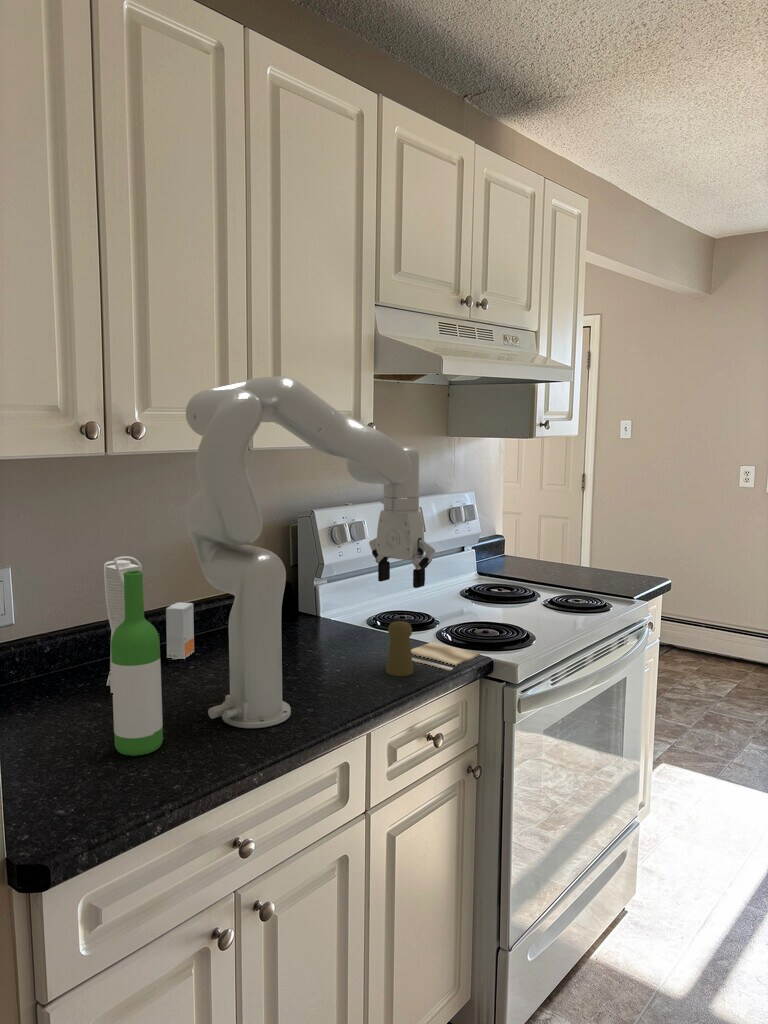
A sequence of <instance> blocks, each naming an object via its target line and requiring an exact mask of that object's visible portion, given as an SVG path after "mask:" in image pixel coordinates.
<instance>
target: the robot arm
mask: <svg viewBox="0 0 768 1024" xmlns="http://www.w3.org/2000/svg"><path fill="white" fill-rule="evenodd" d="M185 419H186V422H187V424H188V426H189V428H191V430H192V431H193V432H195V434H197V435H199V436H201V437H202V438H201V440H200V443H199V445H198V448H197V453H196V457H195V458H196V459H195V468H196V474H197V478H198V481H199V485H200V488H201V489H200V490H201V491H199V492H197V493H196V494H194V496H193V497H192V498H191V499H190V501H189V503H188V506H187V508H186V517H185V519H186V520H185V521H186V526H187V532H188V534H189V537H190V540H191V542H192V545H193V548H194V552H195V554H196V556H197V560H198V563H199V565H200V569H201V570H202V573H203V576H204V578H205V579H206V581H207V582H208V583H209V584H210V586H211V587H213V588H214V589H216V590H218V591H221V592H223V593H227V594H230V595H233V596H234V600H233V604H232V607H231V609H230V612H229V616H228V654H229V655H228V657H229V658H228V660H229V694H227V695H224V697H225V700H224V701H223V702H222V703H221V704H220V705H215V706H213V707H210V708H208V711H207V713H208V716H209V718H210V719H212V720H213V719H216V718H218V717H221V718H222V721H223V722H224V723H225V724H227V725H229V726H232V727H236V728H243V729H261V728H268V727H272V726H275V725H279V724H281V723H283V722H286V720H288V719H289V718H290V716H291V714H292V713H291V712H292V710H291V706H290V704H289V703H287V702H286V701H284V700H283V665H282V664H283V661H282V659H283V656H282V654H283V653H282V652H283V651H282V645H283V644H282V643H283V642H282V640H283V639H282V610H283V609H282V607H283V601H284V600H283V599H284V593H285V587H286V582H287V580H286V579H287V573H286V571H287V570H286V567H285V565H284V562H283V561H282V559H281V558H280V557H279V556H278V555H277V554H276V553H274V552H273V551H271V550H269V549H266V548H263V547H260V546H254V545H250V544H251V543H253V542H255V541H256V540H257V539H258V538H260V536H261V533H262V529H263V518H262V513H261V510H260V507H259V504H258V500H257V497H256V493H255V491H254V487H253V484H252V481H251V477H250V475H249V470H248V466H247V453H248V449H249V446H250V443H251V441H252V439H253V437H254V436H255V434H256V433H257V431H258V429H259V427H260V425H261V423H275V424H277V425H278V426H281V427H282V428H283V429H285V430H287V431H288V432H290V433H291V434H293V435H294V436H295V437H297V438H298V439H299V440H302V441H303V442H304V443H305V444H308V445H309V446H310V447H311V448H313V449H314V450H316V451H319V452H321V453H324V454H327V455H330V456H334V457H339V458H344V459H347V462H346V469H347V472H348V474H349V475H350V476H351V478H352V479H354V480H356V481H358V482H360V483H365V484H374V485H375V484H376V485H377V484H380V485H383V497H382V498H381V499H380V503H381V505H383V509H382V510H380V513H379V516H378V521H377V522H378V523H377V528H376V529H377V530H376V532H377V533H376V537H375V538H373V539H372V540H370V541H369V542H368V544H369V546H370V549H371V554H372V555H373V557H374V558H375V562H376V564H377V565H378V566H377V580H378V582H385V581H388V580H390V578H391V572H390V571H391V569H390V568H391V563H390V561H388V560H389V559H396V560H401V561H410V562H411V563H412V565H413V566H414V569H413V572H412V587H413V588H414V589H418V588H422V587H424V586H425V584H426V583H425V582H426V568H428V566H429V565H430V564H431V562H432V561H433V557H434V555H435V553H436V549H434V548H433V546H431V545H430V544H429V543H427V542H426V541H425V532H424V531H425V530H424V523H423V516H422V512H421V511H420V502H419V501H420V453H419V450H418V448H416V447H414V446H401V445H400V444H399V443H397V442H396V441H394V440H393V439H392V438H391V437H389V436H388V435H386V434H385V433H383V432H381V431H380V430H377V429H376V428H374V427H372V426H369V425H367V424H365V423H363V422H361V421H359V420H357V419H355V418H352V417H350V416H349V415H348V416H347V415H345V414H343V413H341V412H340V411H339V410H337V409H335V408H334V407H333V406H331V404H329V403H328V402H326V401H325V400H324V399H322V398H321V397H320V396H318V395H317V394H316V393H314V392H313V391H312V390H310V389H309V388H308V387H306V386H305V385H304V384H302V383H301V382H300V381H298V380H297V379H295V378H293V377H289V376H285V375H278V376H265V377H264V376H263V377H262V376H261V377H255V378H251V379H247V380H243V381H239V382H236V383H230V384H226V385H221V386H217V387H213V388H207V389H204V390H201V391H198V392H197V393H194V395H193V396H192V397H191V398H190V399H189V401H188V402H187V405H186V408H185ZM424 554H425V555H424Z"/></svg>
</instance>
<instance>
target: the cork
mask: <svg viewBox="0 0 768 1024" xmlns="http://www.w3.org/2000/svg"><path fill="white" fill-rule="evenodd" d="M387 633H388V636H389V639H390V640H389V647H388V655H387V660H386V668H385V672H386V674H387V675H389V676H390V675H391V676H394V677H406V676H410V675H412V674H414V665H413V663H414V662H413V661H412V657H413V655H411V649H412V648H411V639H410V637H411V636H412V633H413V627H412V625H411V624H410V623H409V622H407V621H404V620H403V621H402V620H396V621H393V622H391V623H389V625H388V627H387Z"/></svg>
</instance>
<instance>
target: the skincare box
mask: <svg viewBox="0 0 768 1024" xmlns="http://www.w3.org/2000/svg"><path fill="white" fill-rule="evenodd" d="M194 617H195V615H194V603H192V602H180V601H179V602H175V603H173V604H171V605H170V606H168V607H166V608H165V622H166V623H165V625H166V628H165V629H166V631H165V633H166V659H167V658H172V659H171V660H177V659H184V660H185V659H186V657H187V658H188V657H189V656H191V655H192V653H193V652H194V653H195V635H194V634H195V631H194V629H195V628H194V627H195V626H194V625H195V623H194V621H195V620H194ZM194 653H193V654H194ZM190 654H191V655H190Z"/></svg>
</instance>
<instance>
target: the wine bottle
mask: <svg viewBox="0 0 768 1024" xmlns="http://www.w3.org/2000/svg"><path fill="white" fill-rule="evenodd" d="M124 601H125V620H124V622H123V623H121V624H120V625H119V626H118V627H117V629H116V630H115V632H114V634H113V636H112V641H111V640H110V648H111V660H112V661H111V664H112V691H113V695H112V711H113V717H112V718H113V734H114V738H113V739H114V747H115V749H116V751H117V752H118V753H120V754H121V755H124V756H129V755H130V756H131V757H137V756H138V755H139V756H145V755H148V754H152V753H154V752H155V751H157V750H158V749H160V747H161V746H162V744H163V740H164V734H163V731H164V730H163V699H162V692H163V691H162V667H161V666H162V664H161V648H160V647H161V645H160V644H161V643H160V635H159V633H158V631H157V629H156V627H155V626H154V625H153V624H152V623H151V622H150V621H148V620H146V618H145V606H144V605H145V604H144V578H143V571H142V572H141V571H127V572H125V573H124ZM144 754H145V755H144ZM130 756H129V757H130Z"/></svg>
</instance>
